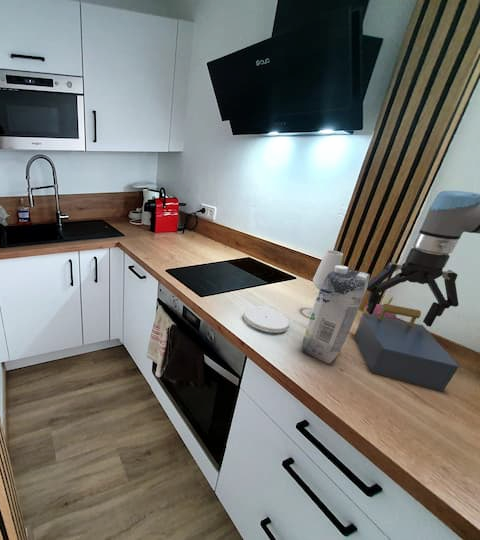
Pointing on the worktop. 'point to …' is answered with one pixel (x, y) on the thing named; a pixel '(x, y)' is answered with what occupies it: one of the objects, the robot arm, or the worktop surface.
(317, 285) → the champagne flute
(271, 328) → the plastic lid
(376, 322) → the lid
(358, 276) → the juice carton
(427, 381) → the chest
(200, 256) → the worktop surface
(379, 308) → the cupcake
